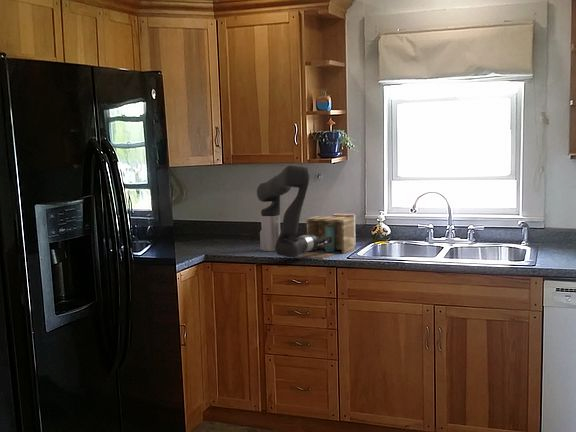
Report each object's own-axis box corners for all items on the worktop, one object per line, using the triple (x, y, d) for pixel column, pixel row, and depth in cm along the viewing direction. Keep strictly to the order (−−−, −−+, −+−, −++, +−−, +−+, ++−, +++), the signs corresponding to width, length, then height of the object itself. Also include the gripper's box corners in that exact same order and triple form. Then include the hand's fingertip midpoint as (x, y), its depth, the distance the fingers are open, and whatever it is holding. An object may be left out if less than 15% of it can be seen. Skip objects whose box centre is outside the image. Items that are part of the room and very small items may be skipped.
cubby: (307, 251, 343) (306, 218, 342) (318, 247, 353) (317, 215, 351) (344, 253, 333) (343, 220, 331) (354, 250, 343) (353, 217, 341)
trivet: (295, 256, 328) (295, 255, 328) (308, 252, 339) (308, 251, 338) (322, 258, 321) (322, 257, 321) (334, 254, 331) (334, 253, 331)
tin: (323, 251, 342) (323, 226, 340) (328, 249, 346) (327, 225, 345) (332, 251, 339) (331, 227, 338) (336, 250, 343) (336, 225, 342)
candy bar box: (332, 247, 354) (331, 214, 353) (334, 245, 359) (333, 213, 357) (354, 247, 351) (353, 214, 350) (356, 245, 356) (355, 213, 354)
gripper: (319, 235, 318) (336, 231, 332) (292, 234, 325) (309, 229, 339) (320, 252, 319) (336, 247, 333) (292, 250, 326) (310, 245, 340)
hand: (323, 238), depth 336 cm, fingers open, 8 cm apart
